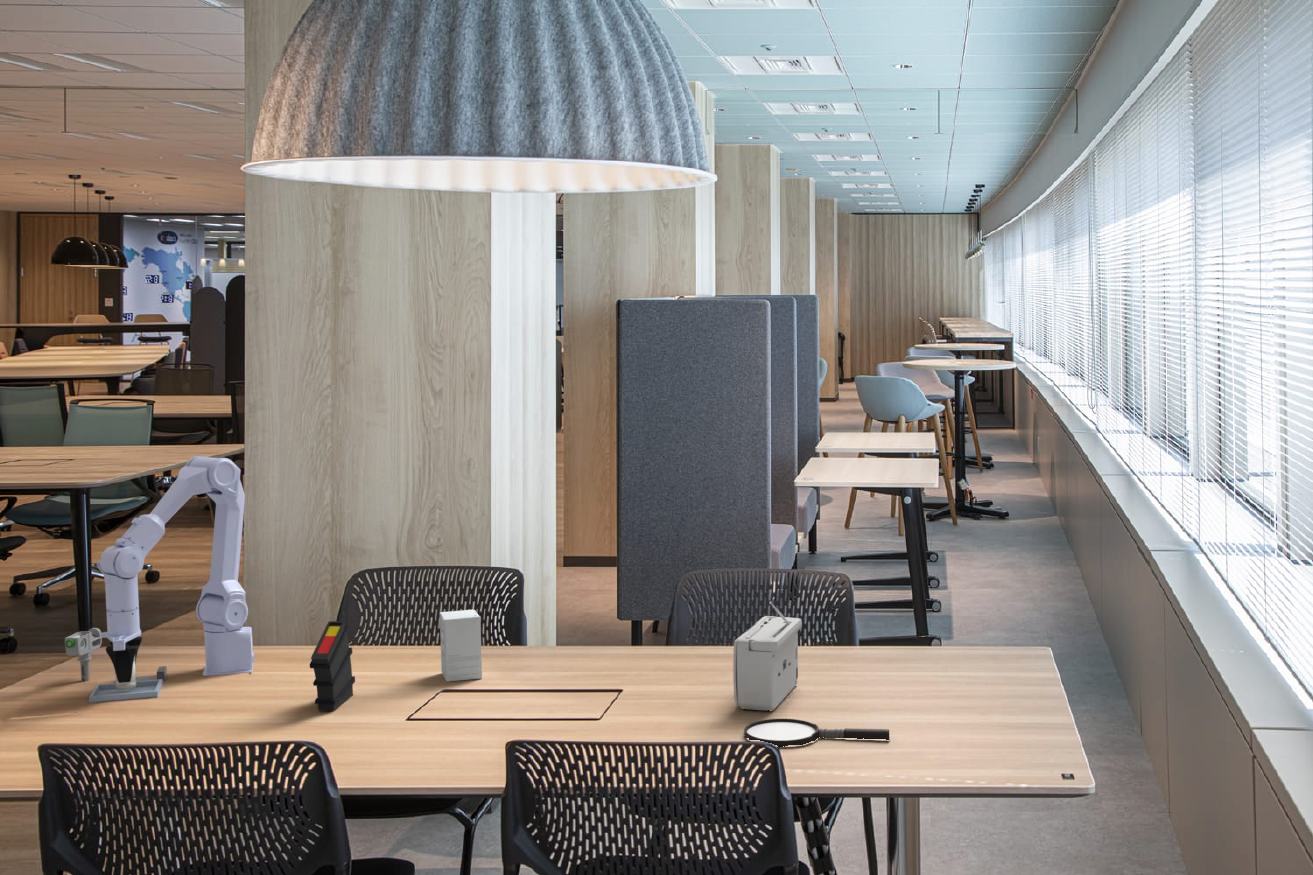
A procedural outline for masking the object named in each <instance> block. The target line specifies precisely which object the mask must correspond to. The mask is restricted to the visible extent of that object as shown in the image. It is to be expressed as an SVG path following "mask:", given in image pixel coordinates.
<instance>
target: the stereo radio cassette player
mask: <svg viewBox="0 0 1313 875" xmlns="http://www.w3.org/2000/svg"><path fill="white" fill-rule="evenodd" d="M768 603H769V605H771V606H772V608H773V609H774V611H775V612H776V613H777V614H778V615H779V616H771V615H770V616H769V615H765V616H763V617H761V618H759V620H758V621H757V622H755V623H754V624H753V625H752V626H751V627H749V629H746V631H744V633H742V634H741V635H740V636H739V637H738V638H736V639H735V640H734V644H733V663H732V664H733V665H732V666H733V668H732V670H733V672H732V673H733V674H732V676H733V678H732V679H733V680H732V681H733V695H734V697H733V698H734V704H735V706H739V708H740V709H742V710H743V709H746V710H756V711H768V710H771V711H772V712H773V711H775V710H776V708H777V707H778V706H779V705H780V703H782V701H783V700H784V699H785V698H786V697H787V696H788V695H789V693H790V692H792V690H793V689H794V688H795V687H797V684H798V677H799V656H798V655H799V653H798V652H799V651H798V650H799V649H798V648H799V645H798V644H799V641H798V640H799V639H798V635H799V634H798V633H799V630H801V629H802V625H803V623H802V619H801V618H798V617H788V616H784V615H783V614H782V612H780V610H779V609H778V608H777V607H776V606H775V605H774V604H773V602H772V601H769V602H768Z"/></svg>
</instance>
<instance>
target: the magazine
mask: <svg viewBox="0 0 1313 875" xmlns="http://www.w3.org/2000/svg"><path fill="white" fill-rule="evenodd" d="M348 631H349V625H348V624H347V625H346V624H345V621H341V620H339V621H338V620H336V621H335V620H334V621H333V620H331V621H327V624H326V626H325V628H324V630H323V632H322V634H321V636H320V637H319V640H318V642H317V644H316V647H315V648H314V650H313V652H312V655H311V657H310V659H311V661H310V663H309V669H313V672H314V677H315V679H314V681H313V682H312V684H313V687H314V686H315V687H316V695H317V697H316V699H314V705H317V710H318V712H335V711H336V710H337V709H338V708H339V707H341V706H343V704H344V703H346V702H347V701H348V700H350V698H351V697H352V696H353V695H354V693H353V692H354V691H353V690H354V689H353V686H354V684H355V683H356V676H354V675H353V670H352V660H351V656H352V654H353V653H354V652H353V648H352V647H350V645H349V638H348Z"/></svg>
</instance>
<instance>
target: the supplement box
mask: <svg viewBox="0 0 1313 875" xmlns="http://www.w3.org/2000/svg"><path fill="white" fill-rule="evenodd" d="M481 626H482V625H481V616H480V615H479V614H478V612H477V611H476V610H475V609H465V610H463V609H462V610H454V611H452V610H451V611H440V612H439V628H440V629H439V630H440V659H441V660H440V662H441V664H440V665H441V673H442V676H443V678H444V679H445V682H447V683H448V682H455V681H456V682H457V681H468V680H469V681H470V680H479V679H483V664H482V663H483V662H482V661H483V660H482V635H481V634H482V633H481V632H482V631H481V630H482V629H481V628H482V627H481Z"/></svg>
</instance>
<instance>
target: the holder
mask: <svg viewBox="0 0 1313 875" xmlns="http://www.w3.org/2000/svg"><path fill="white" fill-rule="evenodd" d="M167 673H168V671H167V665H162V666H158V668H157V670H156V674H154V675H143V676H142V675H140V676H136V681H146V680H159V679H163V682H166V680H167V678H168V676H169V674H167Z"/></svg>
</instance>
